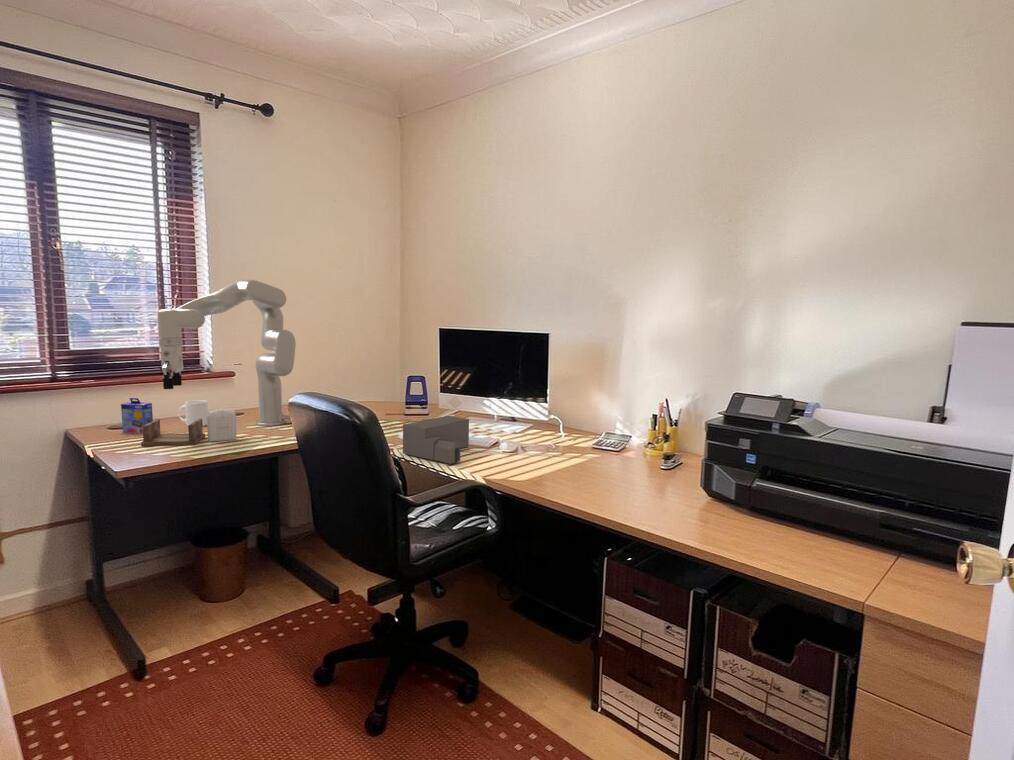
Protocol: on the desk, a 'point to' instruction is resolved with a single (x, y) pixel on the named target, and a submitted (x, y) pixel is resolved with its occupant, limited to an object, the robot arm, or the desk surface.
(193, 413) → the mug
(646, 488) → the desk surface
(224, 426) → the photo printer
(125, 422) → the ink cartridge box
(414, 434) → the grey stepped block
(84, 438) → the desk surface
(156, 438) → the walnut rack
